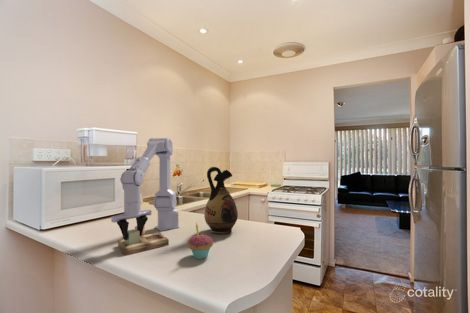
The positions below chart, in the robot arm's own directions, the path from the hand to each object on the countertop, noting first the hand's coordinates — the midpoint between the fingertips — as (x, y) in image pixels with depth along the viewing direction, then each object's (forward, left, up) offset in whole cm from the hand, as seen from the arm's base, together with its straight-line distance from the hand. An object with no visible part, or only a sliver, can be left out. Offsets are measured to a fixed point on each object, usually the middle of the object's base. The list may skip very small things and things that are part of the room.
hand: (132, 237), depth 88 cm
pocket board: (-4, 0, -4) cm, 6 cm away
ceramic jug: (-37, +4, -4) cm, 37 cm away
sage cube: (0, 0, -3) cm, 3 cm away
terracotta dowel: (-5, -9, -4) cm, 11 cm away
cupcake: (-17, +23, -4) cm, 29 cm away
